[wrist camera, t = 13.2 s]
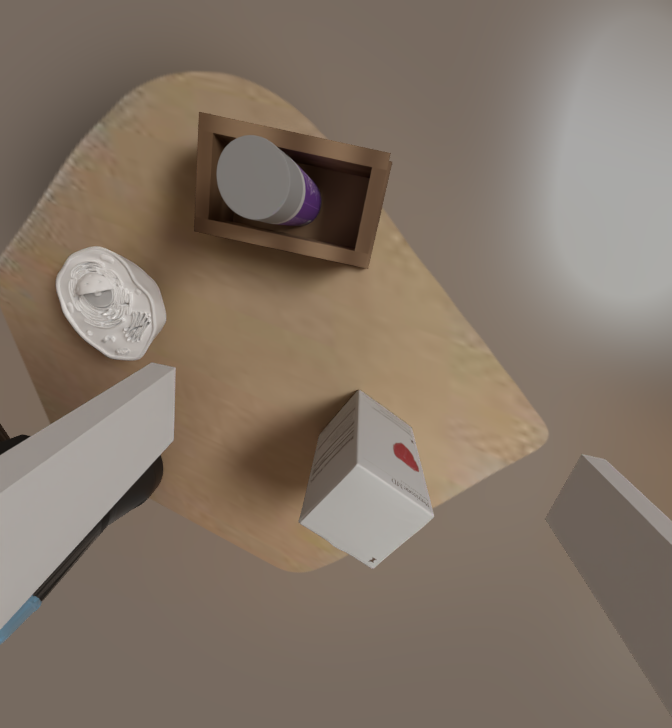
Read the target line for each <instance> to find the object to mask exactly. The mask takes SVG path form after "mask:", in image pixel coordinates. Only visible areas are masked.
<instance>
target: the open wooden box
mask: <svg viewBox="0 0 672 728" xmlns="http://www.w3.org/2000/svg"><path fill="white" fill-rule="evenodd" d="M245 135H255V136H260V137H263V138H265V139H267V140H269V141H270V142H272V143H273V144H274V145H275V146H277V147H278V148H279V149H280V150H281V151H283V152H284V153H285V154H286V155H287V156H289V157H290V158H291V159H292V160H293V161H294V162H295V163H296V164H297V165H298V166H299V167H300V168H301V169H302V170H303V171H304V172H305V173H306V174H307V175H308V176H309V177H310V178H311V179H312V180H313V181H314V182H315V184H316V185H317V187H318V188H319V191H320V194H321V199H322V204H321V209H320V212H319V214H318V216H317V217H316V219H315V220H314V221H312V222H311V223H310V224H308V225H305V226H289V225H278V224H270V223H265V222H261V221H256V220H251V219H247V218H244V217H242V216H240V215H238V214H236V213H235V212H234V211H233V210H231V209H230V208H229V206H228V205H227V204H226V203H225V201H224V200H223V198H222V196H221V194H220V191H219V188H218V184H217V176H216V172H217V164H218V160H219V158H220V155H221V153H222V151H223V150H224V149H225V147H226V146H227V145H228V144H229V143H230V142H231V141H233V140H234V139H236V138H238V137H241V136H245ZM390 154H391V153H387V152H382V151H378V150H373V149H368V148H364V147H359V146H355V145H350V144H345V143H340V142H336V141H332V140H327V139H322V138H318V137H313V136H309V135H304V134H299V133H295V132H290V131H285V130H281V129H276V128H272V127H267V126H262V125H258V124H253V123H248V122H244V121H239V120H235V119H230V118H225V117H221V116H216V115H211V114H207V113H202V112H199V125H198V149H197V173H196V198H195V222H194V231H196V232H200V233H205V234H210V235H214V236H218V237H222V238H227V239H232V240H236V241H241V242H246V243H250V244H255V245H259V246H264V247H269V248H273V249H278V250H283V251H287V252H292V253H297V254H301V255H306V256H311V257H315V258H320V259H325V260H329V261H334V262H339V263H343V264H348V265H353V266H357V267H362V268H367V269H368V267H369V262H370V258H371V254H372V249H373V245H374V240H375V236H376V232H377V227H378V223H379V218H380V214H381V210H382V205H383V201H384V196H385V192H386V188H387V183H388V179H389V174H390V170H391V165H392V162H391V161H389V158H390Z"/></svg>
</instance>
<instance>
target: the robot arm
mask: <svg viewBox="0 0 672 728" xmlns="http://www.w3.org/2000/svg"><path fill="white" fill-rule="evenodd" d="M175 370H176V368H175V367H170V366H166V365H161V364H156V363H150V364H149V365H147V366H145V367H144V368H142V369H140V370H139V371H137V372H135V373H134V374H132V375H131V376H129V377H127V378H126V379H124V380H122V381H121V382H119V383H117V384H116V385H114V386H113V387H111V388H109V389H108V390H106V391H104V392H103V393H101V394H99V395H98V396H96V397H95V398H93V399H91V400H90V401H88V402H86V403H85V404H83V405H81V406H80V407H78V408H77V409H75V410H73V411H72V412H70V413H68V414H67V415H65V416H63V417H62V418H60V419H59V420H57V421H55V422H54V423H52V424H50V425H49V426H47V427H45V428H44V429H43V430H41V431H39V432H37V433H36V434H34V435H33V436H27V435H20V436H16V437H14V438H11V439H10V438H9V436H8V435H7V433H6V432H5V430H4V429H3V428H2V426H1V424H0V645H1V644H2V643H3V642H4V641H5V640H6V639H7V638H8V637H9V636H10V635H11V634H12V633H13V632H14V631H15V630H16V629H17V628H18V627H19V626H20V625H21V624H22V623H23V622H24V621H25V620H26V619H27V618H28V617H29V616H30V615H31V614H32V613H33V612H34V611H36V610H37V609H38V608H39V607H40V605H41V603H42V601H43V600H44V599H45V598H46V597H47V595H48V594H49V593H50V592H51V591H52V590H53V588H54V587H55V586H56V585H57V584H58V583H59V581H60V580H61V579H62V578H63V577H64V576H65V575H66V573H67V572H68V571H69V570H70V569H71V568H72V566H73V565H74V564H75V563H76V562H77V561H78V559H79V558H80V557H81V556H82V555H83V554H84V552H85V551H86V550H87V549H88V548H89V547H90V545H91V544H92V543H93V542H94V541H95V540H96V538H97V537H98V536H99V535H100V534H101V533H102V532H103V530H104V529H105V528H106V527H107V526H108V525H110V524H111V523H113V522H114V521H116V520H117V519H119V518H120V517H122V516H123V515H125V514H126V513H128V512H129V511H130V510H132V509H134V508H136V507H137V506H139V505H141V504H142V503H144V502H145V501H146V500H147V499H148V498H149V497H150V496H151V494H152V493H153V492H154V491H155V489H156V488H157V487H158V485H159V484H160V482H161V479H162V475H163V463H162V459H161V456H160V455H161V453H162V452H163V451H164V450H165V449H166V448H167V447H168V446H169V445H170V444H171V442H172V441H173V440H174V409H175ZM545 520H546V521H547V523H548V524H549V526H550V528H551V529H552V531H553V532H554V534H555V535H556V537H557V539H558V540H559V542H560V543H561V545H562V546H563V548H564V549H565V551H566V553H567V554H568V556H569V557H570V559H571V560H572V562H573V563H574V565H575V567H576V568H577V570H578V571H579V573H580V574H581V576H582V577H583V579H584V581H585V582H586V584H587V585H588V587H589V588H590V590H591V591H592V593H593V595H594V596H595V598H596V599H597V601H598V602H599V604H600V606H601V607H602V609H603V610H604V612H605V613H606V614H607V616H608V618H609V620H610V621H611V623H612V624H613V626H614V627H615V629H616V631H617V632H618V634H619V635H620V637H621V638H622V640H623V642H624V643H625V645H626V646H627V648H628V649H629V651H630V653H631V654H632V656H633V657H634V659H635V660H636V662H637V663H638V665H639V667H640V668H641V669H642V671H643V673H644V674H645V676H646V678H647V679H648V681H649V682H650V684H651V685H652V687H653V688H654V690H655V691H656V693H657V695H658V696H659V698H660V699H661V701H662V703H663V704H664V705H665V707H666V709H667V710H668V712H669V713H670V715H671V716H672V521H671V520H670V519H669V518H668V517H667V516H666V515H665V514H663V513H662V512H661V511H660V510H659V509H658V508H657V507H656V506H655V505H654V504H653V503H652V502H651V501H649V500H648V499H647V498H646V497H645V496H644V495H643V494H642V493H641V492H640V491H639V490H638V489H637V488H636V487H635V486H633V485H632V484H631V483H630V482H629V481H628V480H627V479H626V478H625V477H624V476H623V475H622V474H621V473H619V472H618V471H617V470H616V469H615V468H614V467H613V466H612V465H611V464H610V463H609V462H608V461H606V460H605V459H602V458H597V457H592V456H588V455H583V454H582V455H581V456H580V458H579V460H578V461H577V463H576V465H575V467H574V468H573V470H572V472H571V474H570V475H569V477H568V479H567V481H566V483H565V484H564V486H563V488H562V490H561V491H560V494H559V495H558V497H557V498H556V500H555V502H554V504H553V506H552V507H551V509H550V511H549V513H548V514H547V516H546V518H545Z"/></svg>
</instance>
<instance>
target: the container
mask: <svg viewBox="0 0 672 728" xmlns="http://www.w3.org/2000/svg"><path fill="white" fill-rule="evenodd" d="M216 176H217V184H218V188H219V191H220V194H221V196H222V198H223V200H224V201H225V203H226V204H227V205H228V206H229V208H230V209H231V210H233V211H234V212H235V213H236V214H238V215H240V216H242V217H244V218H247V219H251V220H256V221H261V222H265V223H270V224H278V225H289V226H305V225H308V224H310V223H311V222H312V221H314V220H315V219H316V217H317V216H318V214H319V212H320V209H321V204H322V199H321V194H320V191H319V188H318V187H317V185H316V184H315V182H314V181H313V180H312V179H311V178H310V177H309V176H308V175H307V174H306V173H305V172H304V171H303V170H302V169H301V168H300V167H299V166H298V165H297V164H296V163H295V162H294V161H293V160H292V159H291V158H290V157H289V156H287V155H286V154H285V153H284V152H283V151H281V150H280V149H279V148H278V147H277V146H275V145H274V144H273V143H272V142H270V141H269V140H267V139H265V138H263V137H260V136H255V135H245V136H241V137H238V138H236V139H234V140H233V141H231V142H230V143H229V144H228V145H227V146H226V147H225V149H224V150H223V151H222V153H221V155H220V158H219V160H218V164H217V172H216Z"/></svg>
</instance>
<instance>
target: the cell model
mask: <svg viewBox="0 0 672 728" xmlns="http://www.w3.org/2000/svg"><path fill="white" fill-rule="evenodd" d="M56 291H57V295H58V298H59V301H60V305H61V309H62V311H63V314H64V315H65V317H66V319H67V320H68V321H69V323H70V324H71V326H72V327H73V328H74V330H75V331H76V332H77V333H78V334H79V335H80V336H81V337H82V338H83V339H84V340H85V341H86V342H87V343H89V344H90V345H91V346H93V347H94V348H95V349H97V350H98V351H100V352H101V353H102V354H104V355H105V356H107V357H109V358H111V359H117V360H138V359H140V358H141V357H142V356H143V355H144V354H145V352H146V351H147V349H148V347H149V345H150V344H151V342H152V341H153V339H154V338H155V337H156V336H157V335H158V333H159V332H160V331H161V330H162V328H163V326H164V324H165V322H166V311H165V306H164V303H163V299H162V296H161V292H160V289H159V287H158V285H157V284H156V282H155V281H154V280H153V279H152V278H151V277H150V276H149V275H148V274H147V273H146V272H145V271H144V270H142V269H141V268H140V267H139V266H137V265H136V264H135V263H133V262H131V261H130V260H128V259H126V258H124V257H123V256H121V255H119V254H117V253H114V252H112V251H110V250H108V249H105V248H103V247H98V246H93V247H88V248H85V249H82V250H80V251H77V252H75V253H73V254H71V255H70V256H69V257H68V258H67V259H66V261H65V263H64V265H63V267H62V269H61V270H60V271H59V273H58V275H57V277H56Z"/></svg>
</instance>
